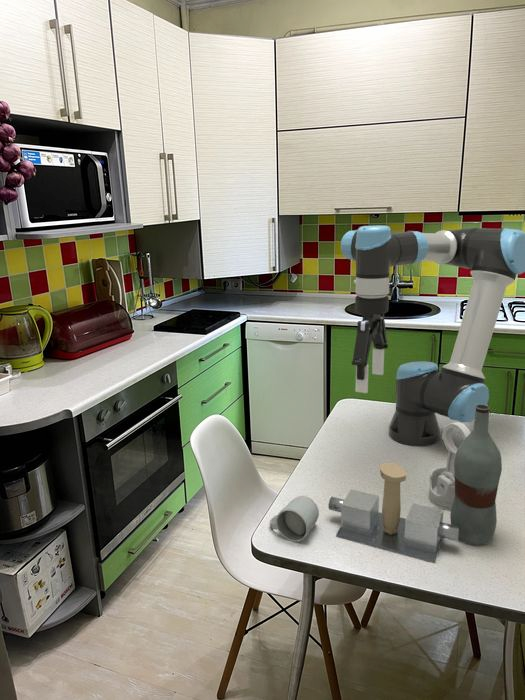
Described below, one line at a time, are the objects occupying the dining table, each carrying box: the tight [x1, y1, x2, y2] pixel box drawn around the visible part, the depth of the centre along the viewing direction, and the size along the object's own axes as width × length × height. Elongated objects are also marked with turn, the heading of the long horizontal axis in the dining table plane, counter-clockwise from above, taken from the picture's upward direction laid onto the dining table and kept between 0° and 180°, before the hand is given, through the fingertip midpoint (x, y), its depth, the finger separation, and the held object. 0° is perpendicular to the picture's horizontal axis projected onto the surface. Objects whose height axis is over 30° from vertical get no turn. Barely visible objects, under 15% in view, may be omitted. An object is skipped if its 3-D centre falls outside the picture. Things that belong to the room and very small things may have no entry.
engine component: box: [428, 421, 472, 512], centre depth 126 cm, size 11×20×10 cm
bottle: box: [449, 404, 503, 547], centre depth 111 cm, size 9×9×30 cm
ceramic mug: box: [269, 495, 320, 543], centre depth 119 cm, size 11×8×8 cm
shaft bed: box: [328, 489, 460, 564], centre depth 116 cm, size 12×28×7 cm, turn 63°
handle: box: [379, 462, 407, 535], centre depth 115 cm, size 5×6×15 cm
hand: (370, 382), depth 127 cm, fingers open, 13 cm apart
